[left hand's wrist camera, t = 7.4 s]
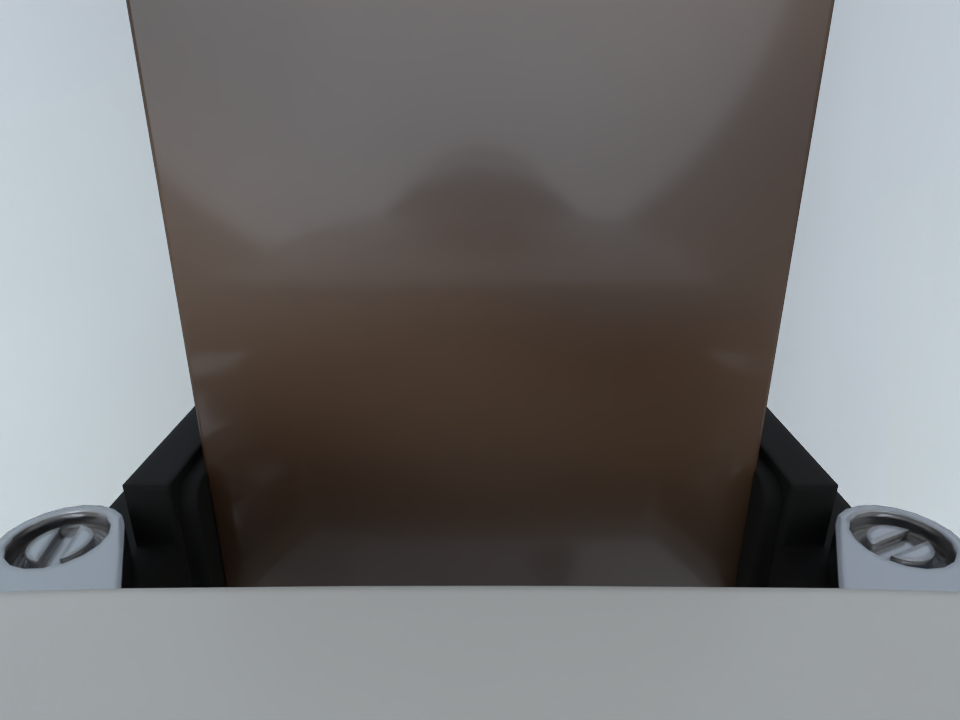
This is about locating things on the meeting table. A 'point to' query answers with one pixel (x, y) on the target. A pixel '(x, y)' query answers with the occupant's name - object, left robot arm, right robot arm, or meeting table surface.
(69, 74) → the meeting table surface
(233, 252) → the cabinet
